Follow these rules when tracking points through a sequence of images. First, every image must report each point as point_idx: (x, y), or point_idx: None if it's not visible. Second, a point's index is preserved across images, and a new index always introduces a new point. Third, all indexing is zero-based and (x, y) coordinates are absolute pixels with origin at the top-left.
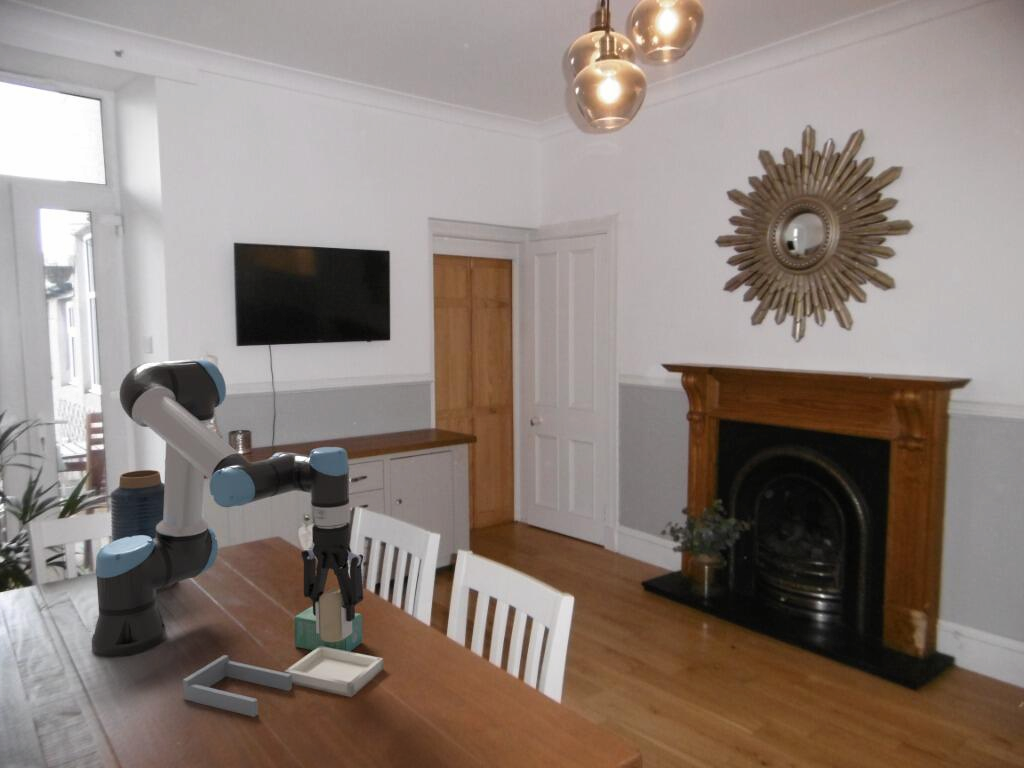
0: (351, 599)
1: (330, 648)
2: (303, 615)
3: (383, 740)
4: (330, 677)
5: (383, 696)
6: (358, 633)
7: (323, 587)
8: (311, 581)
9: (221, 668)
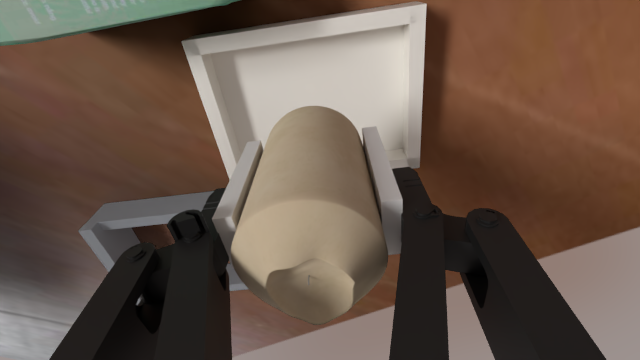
0: (452, 270)
1: (224, 38)
2: (3, 16)
3: (540, 224)
4: None
5: (482, 118)
6: None
7: (212, 285)
8: (135, 349)
9: (113, 234)
